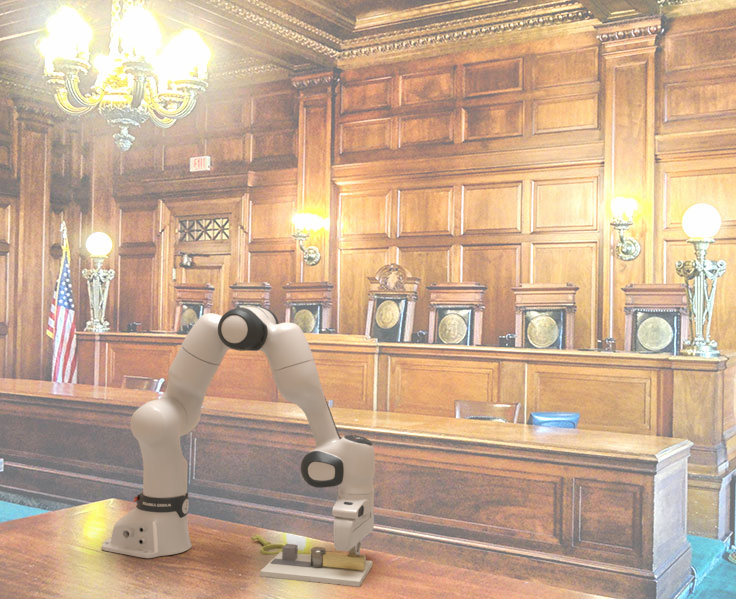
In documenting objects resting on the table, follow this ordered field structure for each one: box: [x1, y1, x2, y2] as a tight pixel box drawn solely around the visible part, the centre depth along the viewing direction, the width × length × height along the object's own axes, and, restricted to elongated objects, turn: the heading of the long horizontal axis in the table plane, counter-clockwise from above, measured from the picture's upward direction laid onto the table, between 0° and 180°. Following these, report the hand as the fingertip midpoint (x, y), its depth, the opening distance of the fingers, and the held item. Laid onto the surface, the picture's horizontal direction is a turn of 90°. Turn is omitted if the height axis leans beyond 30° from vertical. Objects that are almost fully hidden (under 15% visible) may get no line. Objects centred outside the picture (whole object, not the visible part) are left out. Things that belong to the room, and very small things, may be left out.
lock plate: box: [259, 543, 374, 588], centre depth 193 cm, size 24×15×4 cm, turn 78°
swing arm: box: [310, 546, 367, 570], centre depth 192 cm, size 13×4×4 cm, turn 78°
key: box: [250, 534, 285, 556], centre depth 209 cm, size 7×12×2 cm, turn 52°
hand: (354, 558), depth 195 cm, fingers closed
